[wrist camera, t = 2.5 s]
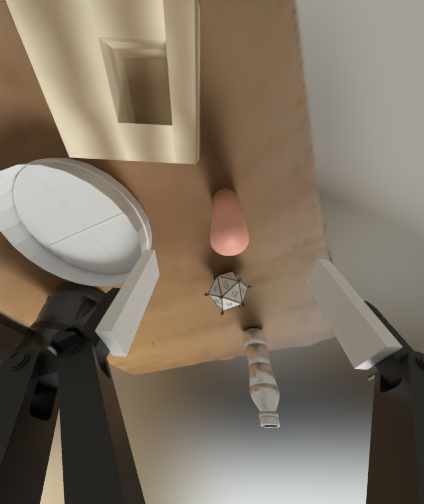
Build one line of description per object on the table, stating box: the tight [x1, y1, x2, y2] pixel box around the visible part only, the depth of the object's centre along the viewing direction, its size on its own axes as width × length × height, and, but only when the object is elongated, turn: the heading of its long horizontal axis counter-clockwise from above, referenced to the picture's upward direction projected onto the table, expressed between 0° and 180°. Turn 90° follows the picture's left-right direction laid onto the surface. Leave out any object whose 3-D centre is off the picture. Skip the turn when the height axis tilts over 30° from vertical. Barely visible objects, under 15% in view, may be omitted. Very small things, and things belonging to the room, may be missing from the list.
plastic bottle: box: [243, 328, 279, 428], centre depth 42 cm, size 6×7×20 cm
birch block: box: [6, 0, 201, 164], centre depth 17 cm, size 14×12×6 cm
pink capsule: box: [210, 188, 249, 256], centre depth 22 cm, size 4×4×12 cm
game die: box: [204, 268, 252, 316], centre depth 34 cm, size 9×8×10 cm
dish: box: [0, 158, 152, 286], centre depth 28 cm, size 22×22×5 cm
